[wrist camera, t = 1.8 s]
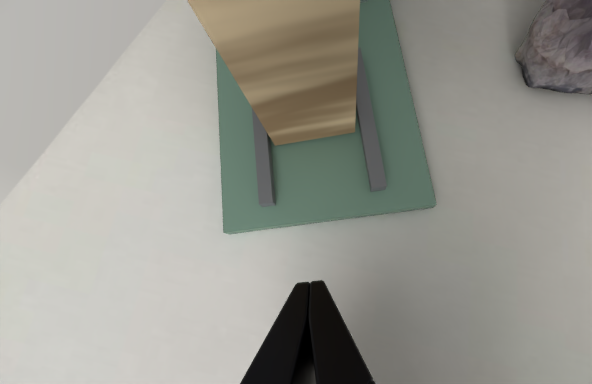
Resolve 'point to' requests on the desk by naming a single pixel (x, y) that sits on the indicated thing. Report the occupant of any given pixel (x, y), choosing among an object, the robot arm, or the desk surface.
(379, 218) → the desk surface
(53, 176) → the desk surface
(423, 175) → the board
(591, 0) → the geode
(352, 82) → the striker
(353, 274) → the desk surface
